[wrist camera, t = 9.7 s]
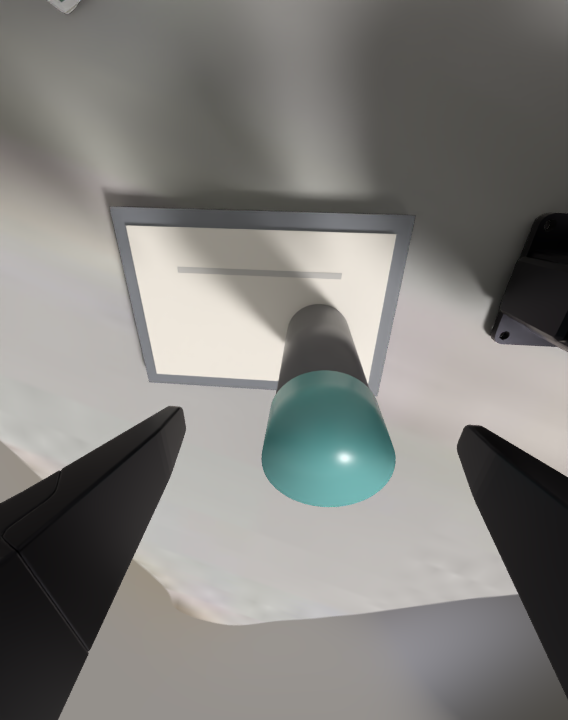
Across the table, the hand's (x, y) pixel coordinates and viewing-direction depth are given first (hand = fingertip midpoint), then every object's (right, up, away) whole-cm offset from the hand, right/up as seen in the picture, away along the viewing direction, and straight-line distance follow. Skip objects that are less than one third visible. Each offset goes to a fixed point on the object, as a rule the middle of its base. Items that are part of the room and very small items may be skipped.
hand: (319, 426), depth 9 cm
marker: (+1, +4, +7) cm, 8 cm away
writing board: (-2, +5, +8) cm, 9 cm away
